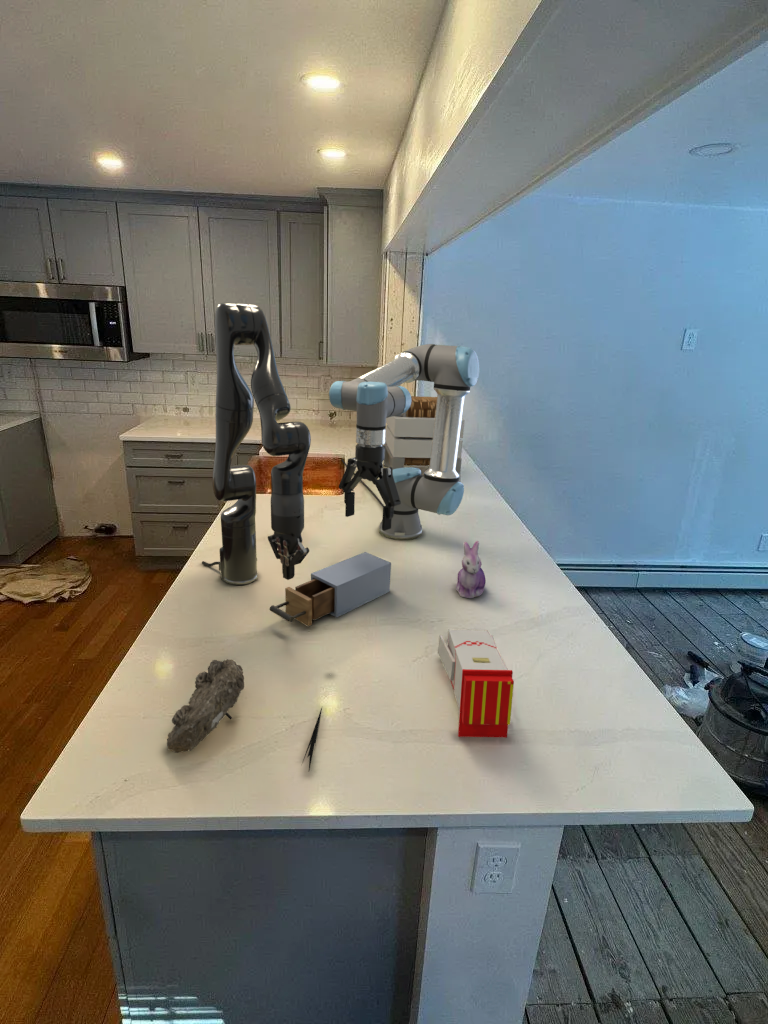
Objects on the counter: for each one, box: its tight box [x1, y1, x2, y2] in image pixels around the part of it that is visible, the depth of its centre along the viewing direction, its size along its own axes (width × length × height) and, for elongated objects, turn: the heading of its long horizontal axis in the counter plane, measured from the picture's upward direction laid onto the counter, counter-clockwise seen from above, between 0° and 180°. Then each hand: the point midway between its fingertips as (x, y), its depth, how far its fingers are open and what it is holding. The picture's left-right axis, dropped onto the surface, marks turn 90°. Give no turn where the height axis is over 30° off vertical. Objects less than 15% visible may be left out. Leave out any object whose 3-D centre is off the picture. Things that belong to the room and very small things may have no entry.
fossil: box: [166, 658, 245, 754], centre depth 106 cm, size 22×10×15 cm
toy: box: [437, 628, 515, 738], centre depth 117 cm, size 12×13×30 cm
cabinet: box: [310, 551, 392, 618], centre depth 153 cm, size 20×10×9 cm, turn 138°
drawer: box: [269, 579, 335, 627], centre depth 145 cm, size 25×9×7 cm, turn 138°
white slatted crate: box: [382, 385, 465, 482], centre depth 268 cm, size 34×33×41 cm
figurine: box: [455, 540, 487, 599], centre depth 158 cm, size 9×10×15 cm
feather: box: [301, 673, 332, 771], centre depth 108 cm, size 2×28×2 cm
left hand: (288, 578), depth 135 cm, fingers closed
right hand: (367, 522), depth 152 cm, fingers open, 13 cm apart
